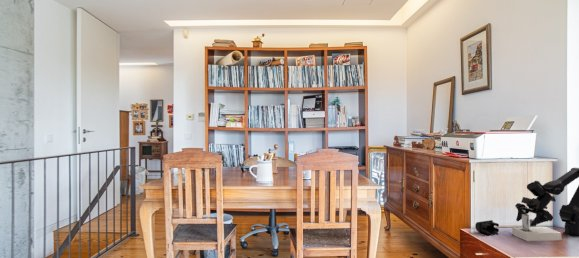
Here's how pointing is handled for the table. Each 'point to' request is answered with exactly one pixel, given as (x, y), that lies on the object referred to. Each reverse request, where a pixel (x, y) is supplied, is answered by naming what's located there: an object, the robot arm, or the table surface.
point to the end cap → (487, 227)
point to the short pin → (531, 222)
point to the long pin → (525, 222)
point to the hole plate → (537, 234)
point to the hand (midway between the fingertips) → (523, 223)
